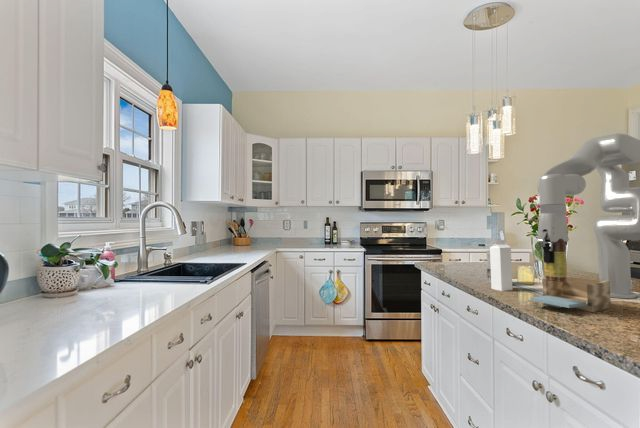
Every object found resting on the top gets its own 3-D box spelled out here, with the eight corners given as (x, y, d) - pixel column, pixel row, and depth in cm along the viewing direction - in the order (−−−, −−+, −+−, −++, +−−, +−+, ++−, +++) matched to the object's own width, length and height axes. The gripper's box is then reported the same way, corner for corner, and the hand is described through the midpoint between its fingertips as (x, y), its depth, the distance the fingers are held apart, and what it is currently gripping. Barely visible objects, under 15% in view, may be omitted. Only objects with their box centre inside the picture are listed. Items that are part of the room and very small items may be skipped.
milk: (512, 290, 149) (511, 240, 149) (501, 291, 147) (500, 240, 147) (501, 287, 154) (500, 239, 155) (490, 288, 153) (489, 240, 153)
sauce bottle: (546, 278, 121) (544, 223, 122) (567, 280, 117) (565, 223, 118) (543, 281, 116) (541, 223, 117) (566, 283, 112) (563, 223, 113)
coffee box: (498, 285, 159) (497, 251, 159) (487, 283, 165) (485, 250, 165) (512, 283, 162) (510, 250, 163) (500, 281, 168) (498, 249, 169)
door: (547, 300, 124) (547, 295, 124) (585, 307, 113) (585, 302, 113) (530, 302, 120) (530, 297, 120) (568, 310, 109) (568, 304, 109)
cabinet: (562, 298, 131) (561, 275, 131) (610, 307, 117) (609, 281, 117) (542, 302, 126) (541, 278, 126) (591, 312, 112) (590, 285, 112)
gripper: (556, 210, 124) (557, 259, 124) (526, 210, 117) (528, 262, 116) (579, 209, 118) (581, 261, 117) (549, 209, 110) (551, 265, 109)
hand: (555, 261), depth 117 cm, fingers closed on sauce bottle, 6 cm apart
